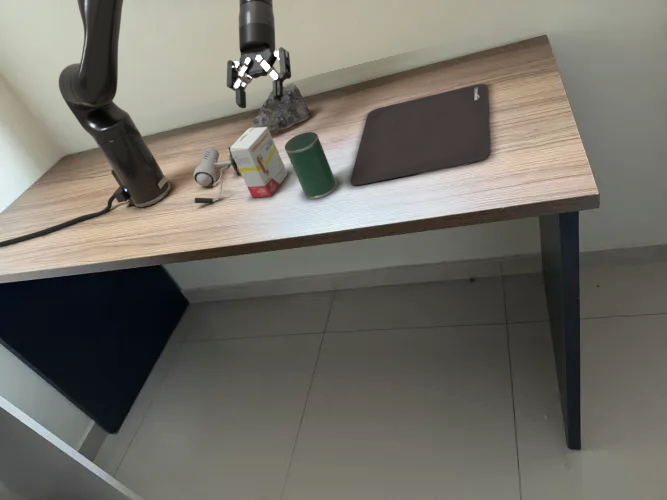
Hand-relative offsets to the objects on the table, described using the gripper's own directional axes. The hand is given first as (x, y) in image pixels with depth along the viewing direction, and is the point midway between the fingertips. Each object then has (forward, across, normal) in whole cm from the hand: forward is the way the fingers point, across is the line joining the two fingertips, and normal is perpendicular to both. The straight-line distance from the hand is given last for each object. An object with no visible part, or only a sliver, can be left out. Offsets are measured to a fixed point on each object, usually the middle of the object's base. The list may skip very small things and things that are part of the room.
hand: (259, 103), depth 133 cm
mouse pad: (+8, -31, -12) cm, 34 cm away
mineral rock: (-2, +6, -23) cm, 24 cm away
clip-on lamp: (+14, +14, -7) cm, 21 cm away
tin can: (+20, -13, -1) cm, 24 cm away
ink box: (+17, 0, -4) cm, 17 cm away
